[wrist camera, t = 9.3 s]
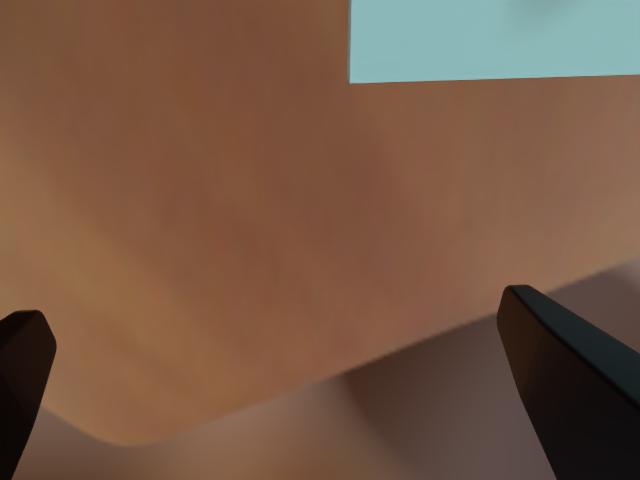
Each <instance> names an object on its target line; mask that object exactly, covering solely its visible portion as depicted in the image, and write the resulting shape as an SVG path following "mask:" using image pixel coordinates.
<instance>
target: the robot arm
mask: <svg viewBox="0 0 640 480" xmlns="http://www.w3.org/2000/svg"><path fill="white" fill-rule="evenodd" d="M497 327H498V331H499V334H500V337H501V340H502V343H503V346H504V350H505V352H506V356H507V359H508V362H509V365H510V368H511V371H512V374H513V378H514V381H515V384H516V387H517V390H518V392H519V395H520V398H521V400H522V403H523V405H524V407H525V409H526V412H527V414H528V416H529V419H530V421H531V423H532V425H533V428H534V430H535V432H536V434H537V437H538V439H539V441H540V443H541V446H542V448H543V450H544V452H545V454H546V457H547V459H548V461H549V463H550V466H551V468H552V470H553V472H554V475H555V477H556V479H557V480H640V353H638V352H637V351H635V350H634V349H632V348H630V347H629V346H627V345H625V344H624V343H622V342H621V341H619V340H617V339H616V338H614V337H612V336H611V335H609V334H608V333H606V332H604V331H603V330H601V329H599V328H598V327H596V326H595V325H593V324H591V323H590V322H588V321H586V320H585V319H583V318H582V317H580V316H578V315H577V314H575V313H573V312H572V311H570V310H568V309H567V308H565V307H563V306H562V305H560V304H559V303H557V302H555V301H554V300H552V299H551V298H549V297H547V296H546V295H544V294H542V293H541V292H539V291H538V290H536V289H534V288H533V287H531V286H529V285H509V286H507V287H506V288H505V289H504V291H503V295H502V298H501V302H500V306H499V309H498V313H497ZM55 354H56V340H55V337H54V335H53V333H52V331H51V329H50V327H49V325H48V323H47V321H46V318H45V316H44V315H43V313H42V312H41V311H39V310H19V311H15V312H13V313H11V314H10V315H8V316H7V317H5V318H3V319H2V320H0V480H12V477H13V475H14V472H15V470H16V468H17V465H18V463H19V460H20V458H21V456H22V453H23V451H24V449H25V446H26V444H27V441H28V439H29V436H30V434H31V431H32V428H33V426H34V423H35V420H36V417H37V414H38V411H39V408H40V404H41V401H42V398H43V394H44V391H45V387H46V384H47V381H48V377H49V374H50V371H51V367H52V364H53V360H54V357H55Z"/></svg>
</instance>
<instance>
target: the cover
mask: <svg viewBox="0 0 640 480" xmlns="http://www.w3.org/2000/svg"><path fill="white" fill-rule="evenodd" d="M631 74H640V0H349V4H348V60H347V78H348V80H349V83H374V82H406V81H438V80H471V79H503V78H535V77H567V76H599V75H631Z"/></svg>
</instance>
